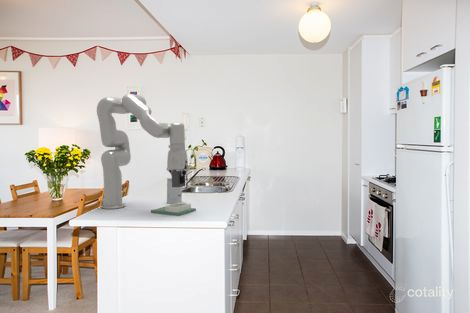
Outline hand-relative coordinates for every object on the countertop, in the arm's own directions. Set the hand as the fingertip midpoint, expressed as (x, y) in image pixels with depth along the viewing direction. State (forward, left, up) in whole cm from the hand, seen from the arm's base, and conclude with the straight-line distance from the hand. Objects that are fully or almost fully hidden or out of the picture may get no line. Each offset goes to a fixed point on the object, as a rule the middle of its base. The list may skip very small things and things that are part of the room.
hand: (178, 183), depth 192 cm
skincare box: (-18, +21, -15) cm, 32 cm away
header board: (-3, 0, -15) cm, 15 cm away
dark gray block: (0, 0, -2) cm, 2 cm away
